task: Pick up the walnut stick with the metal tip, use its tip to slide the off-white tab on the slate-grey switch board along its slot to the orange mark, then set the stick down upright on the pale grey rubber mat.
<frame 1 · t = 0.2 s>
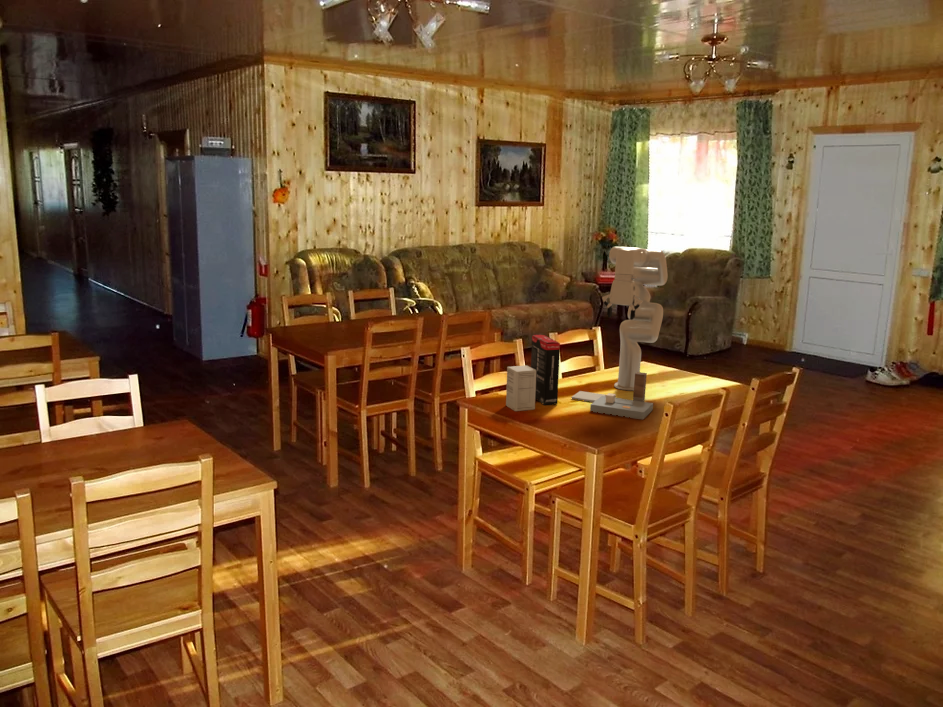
hand: (620, 318, 342), 36 cm above the table, tool pointing down, fingers open, 9 cm apart
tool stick: (638, 405, 341), on the table
supplement box: (520, 408, 333), on the table
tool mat: (588, 398, 351), on the table
switch board: (621, 410, 333), on the table
graphics card box: (542, 400, 345), on the table
switch tab: (610, 398, 334), point 5 cm above the table, slide at 0.0 cm
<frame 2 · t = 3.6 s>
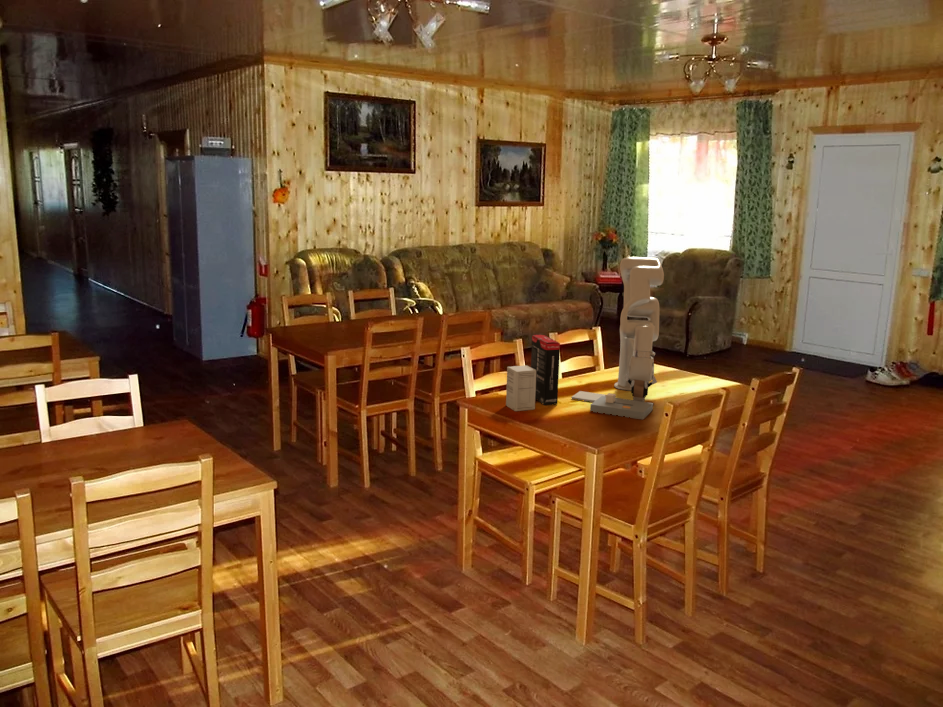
hand: (639, 395, 341), 4 cm above the table, tool pointing down, fingers closed on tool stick, 4 cm apart
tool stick: (638, 405, 341), on the table, touching gripper
everything else where it was.
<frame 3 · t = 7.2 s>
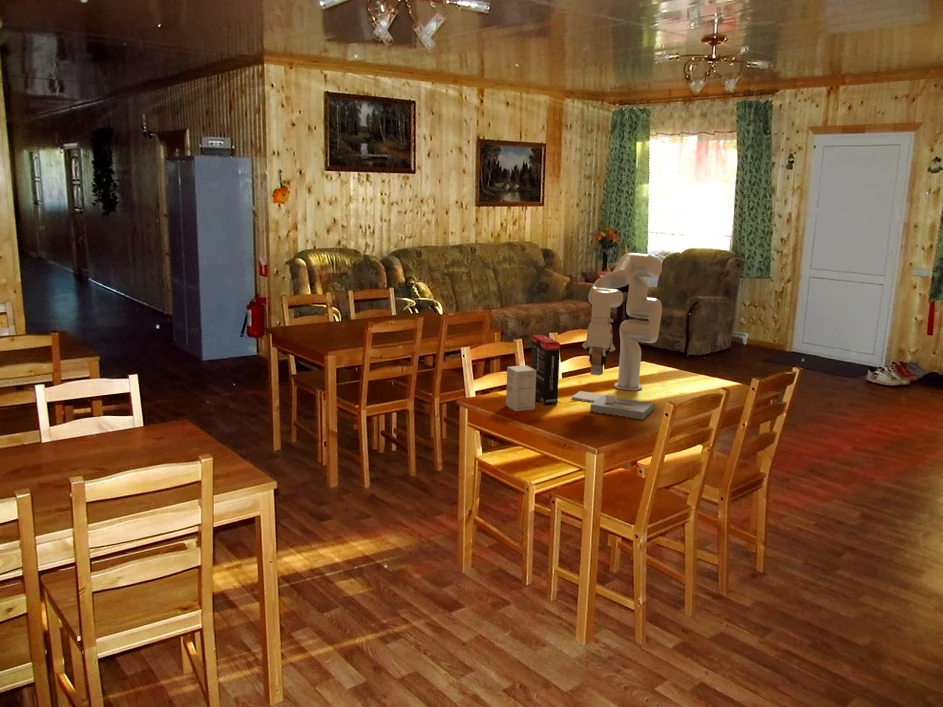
hand: (597, 363, 333), 19 cm above the table, tool pointing down, fingers closed on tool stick, 4 cm apart
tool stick: (596, 373, 334), point 14 cm above the table, touching gripper
everything else where it was.
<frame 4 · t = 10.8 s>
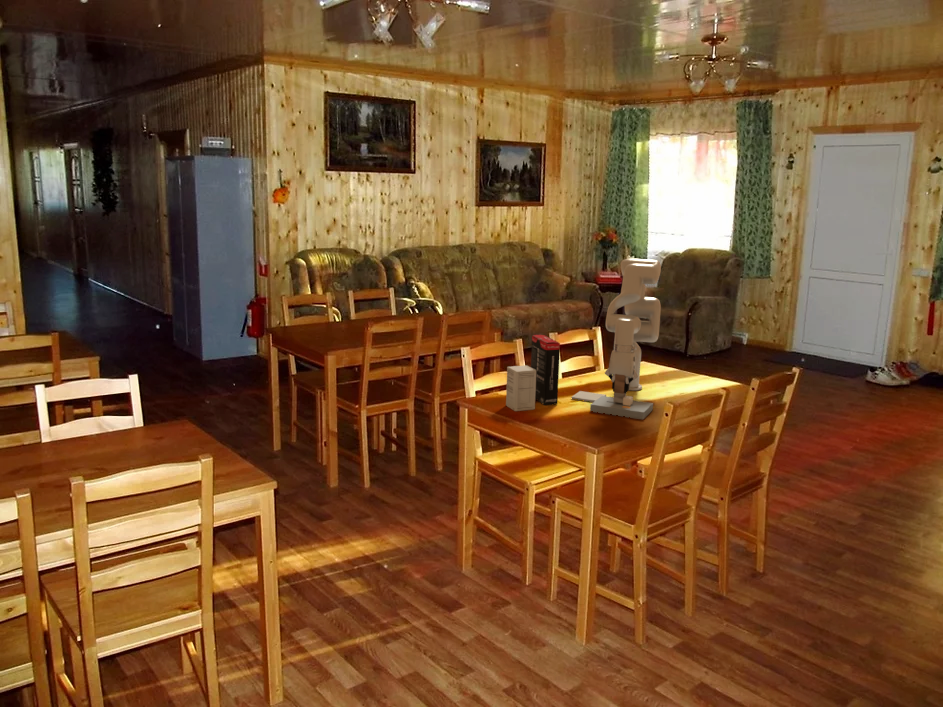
hand: (620, 391, 331), 8 cm above the table, tool pointing down, fingers closed on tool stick, 4 cm apart
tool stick: (619, 401, 332), point 4 cm above the table, touching gripper, switch tab
switch tab: (627, 400, 331), point 5 cm above the table, slide at 7.3 cm, touching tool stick
everything else where it was.
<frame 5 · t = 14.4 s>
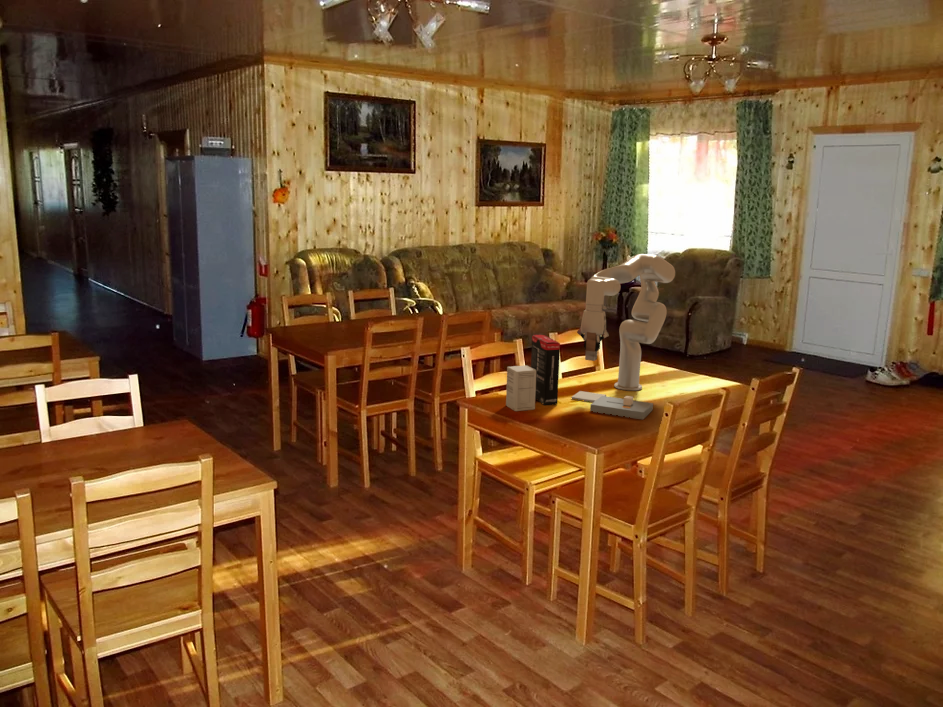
hand: (591, 349, 346), 22 cm above the table, tool pointing down, fingers closed on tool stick, 4 cm apart
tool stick: (591, 359, 347), point 17 cm above the table, touching gripper
switch tab: (628, 400, 331), point 5 cm above the table, slide at 7.5 cm
everything else where it was.
when the fingers open (7 cm above the table, at t = 17.4 s): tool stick drops 1 cm, resting on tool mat.
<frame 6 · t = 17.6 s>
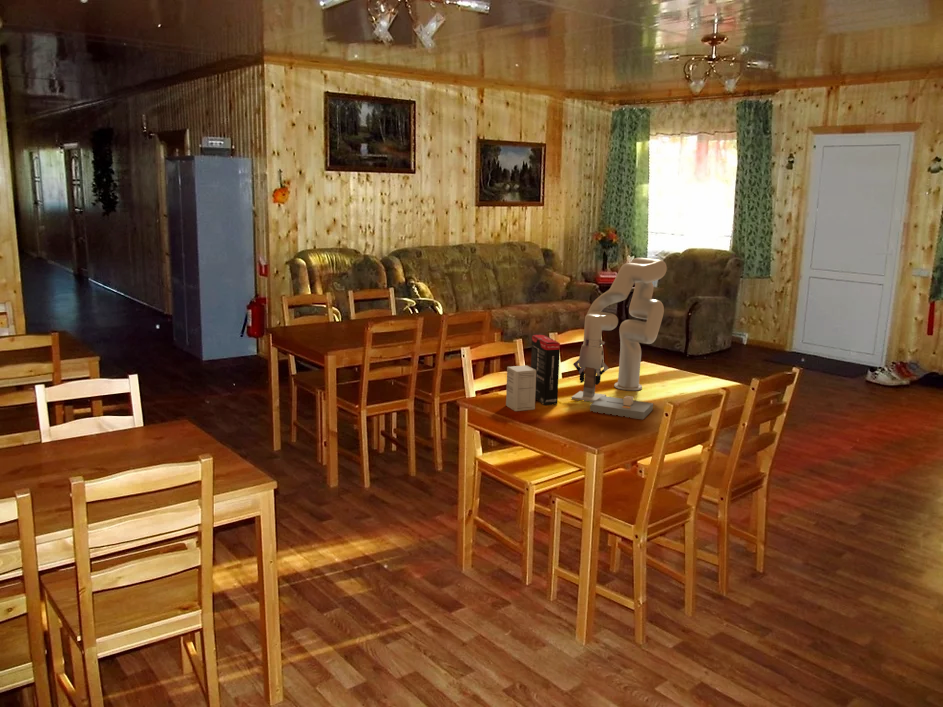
hand: (589, 382, 349), 7 cm above the table, tool pointing down, fingers open, 6 cm apart
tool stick: (588, 395, 350), point 1 cm above the table, touching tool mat
everything else where it was.
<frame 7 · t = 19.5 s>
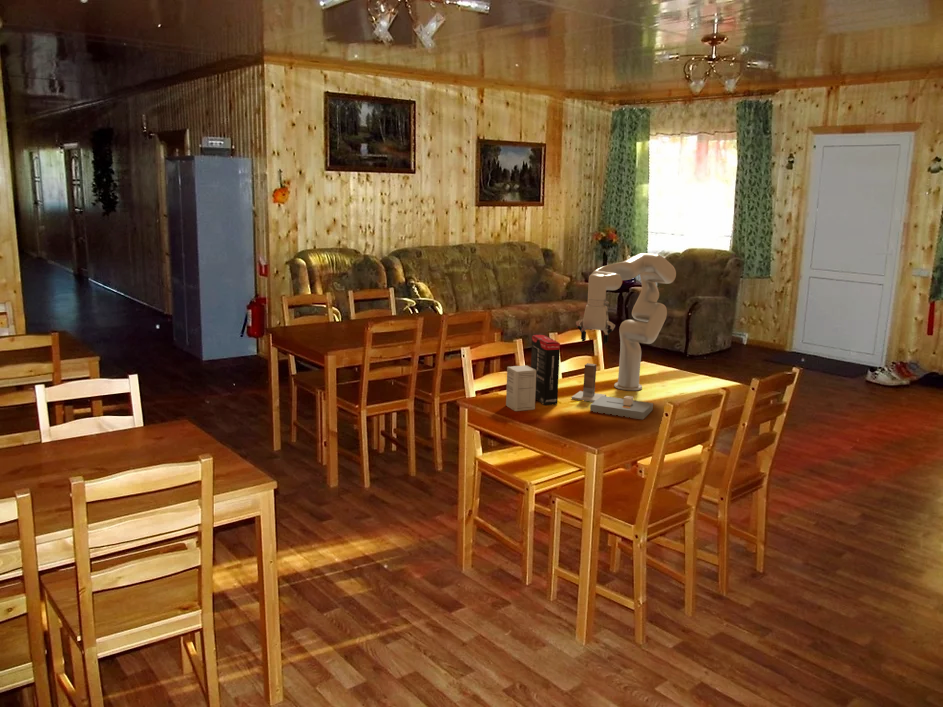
hand: (594, 342, 346), 25 cm above the table, tool pointing down, fingers open, 9 cm apart
nothing on the table moved.
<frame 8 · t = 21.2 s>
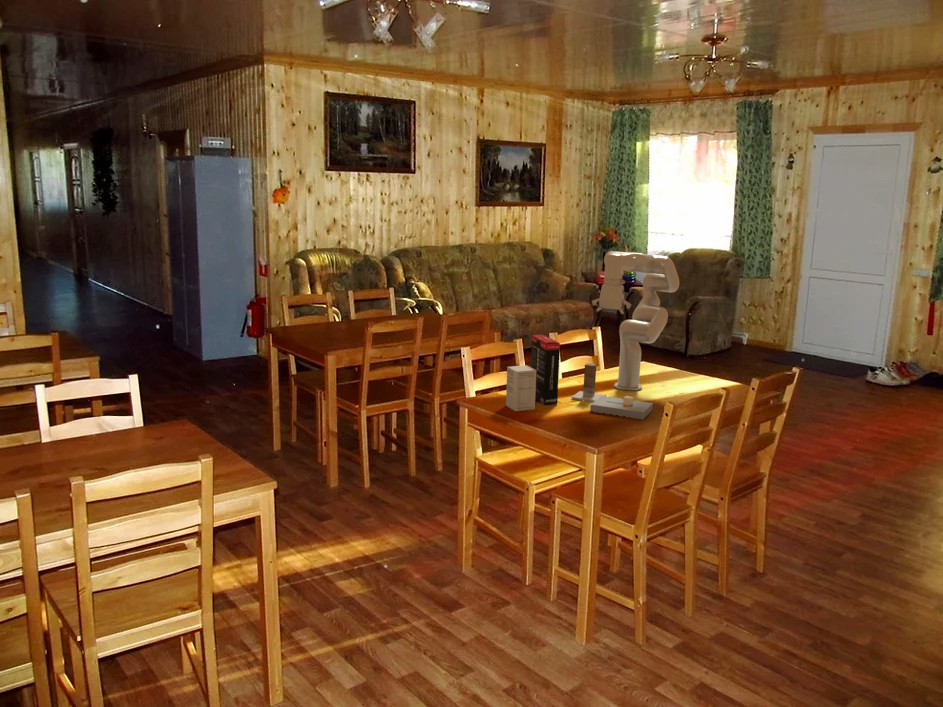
hand: (610, 321, 349), 33 cm above the table, tool pointing down, fingers open, 9 cm apart
nothing on the table moved.
at the end: switch tab slide at 7.5 cm; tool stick inside the target area on the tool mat (0.1 cm from its centre), point 1.0 cm above the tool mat's base; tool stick tilted 0° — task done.
